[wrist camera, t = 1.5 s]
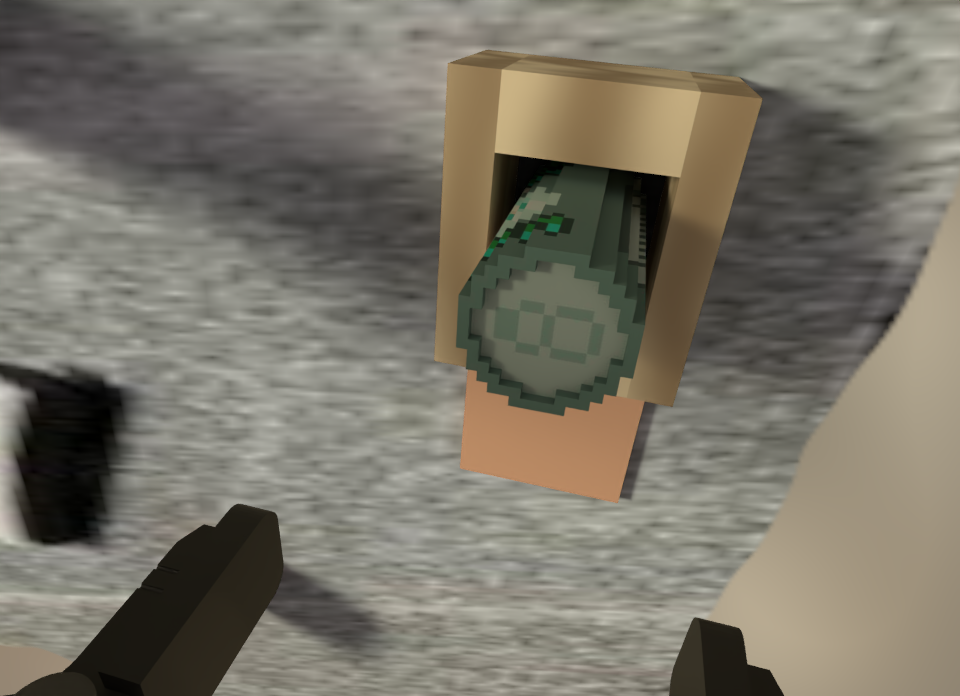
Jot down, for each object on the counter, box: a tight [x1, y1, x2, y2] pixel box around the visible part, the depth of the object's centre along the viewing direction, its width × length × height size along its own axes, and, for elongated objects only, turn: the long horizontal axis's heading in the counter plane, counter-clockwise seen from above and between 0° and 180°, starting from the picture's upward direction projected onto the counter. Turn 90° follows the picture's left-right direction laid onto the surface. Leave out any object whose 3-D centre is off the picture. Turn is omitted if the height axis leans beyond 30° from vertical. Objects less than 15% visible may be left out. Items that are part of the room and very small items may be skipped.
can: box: [456, 160, 646, 416], centre depth 27 cm, size 6×6×15 cm
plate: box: [460, 370, 645, 503], centre depth 40 cm, size 11×11×1 cm
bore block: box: [434, 50, 763, 407], centre depth 30 cm, size 12×14×7 cm
